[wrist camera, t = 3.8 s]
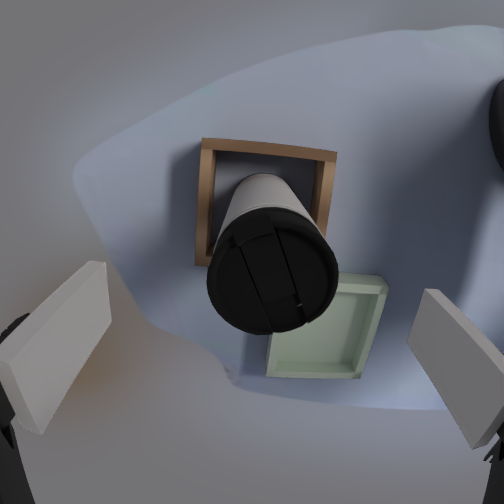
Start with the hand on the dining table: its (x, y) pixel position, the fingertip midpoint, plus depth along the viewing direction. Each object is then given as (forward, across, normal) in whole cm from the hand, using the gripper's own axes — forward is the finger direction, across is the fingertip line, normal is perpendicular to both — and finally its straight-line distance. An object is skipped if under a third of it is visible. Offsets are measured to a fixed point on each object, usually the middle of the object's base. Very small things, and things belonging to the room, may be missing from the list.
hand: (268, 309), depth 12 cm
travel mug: (+22, 0, 0) cm, 22 cm away
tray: (+22, +9, -14) cm, 27 cm away
